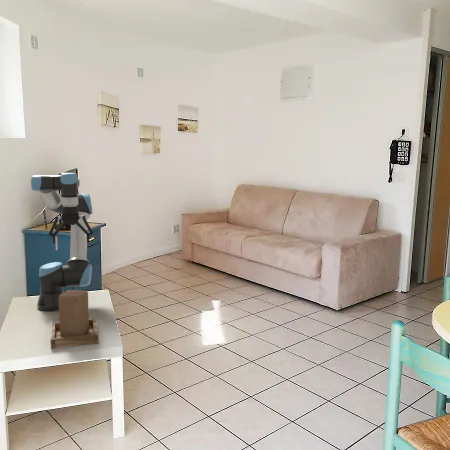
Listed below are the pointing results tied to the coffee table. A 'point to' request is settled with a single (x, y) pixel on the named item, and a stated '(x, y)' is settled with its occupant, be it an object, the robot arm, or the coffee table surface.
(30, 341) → the coffee table surface
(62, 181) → the robot arm
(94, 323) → the crate
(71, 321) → the wooden block
